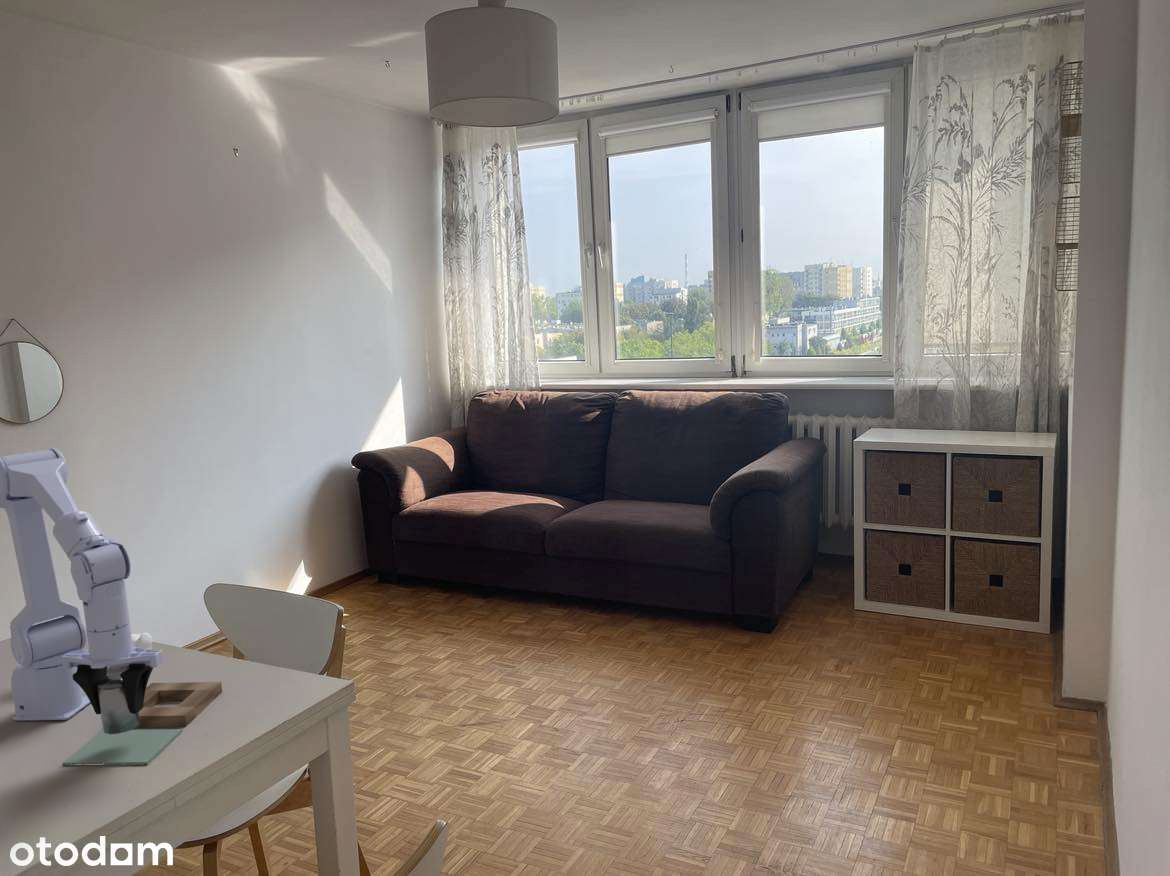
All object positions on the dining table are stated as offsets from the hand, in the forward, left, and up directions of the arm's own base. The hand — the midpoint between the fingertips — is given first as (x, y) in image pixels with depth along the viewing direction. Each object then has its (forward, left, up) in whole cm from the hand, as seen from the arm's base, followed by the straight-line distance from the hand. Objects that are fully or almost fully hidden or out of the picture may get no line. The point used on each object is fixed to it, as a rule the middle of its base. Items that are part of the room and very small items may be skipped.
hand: (119, 711), depth 134 cm
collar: (0, +13, -6) cm, 14 cm away
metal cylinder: (0, 0, -2) cm, 2 cm away
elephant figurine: (-17, +33, -6) cm, 38 cm away
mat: (0, 0, -6) cm, 6 cm away
